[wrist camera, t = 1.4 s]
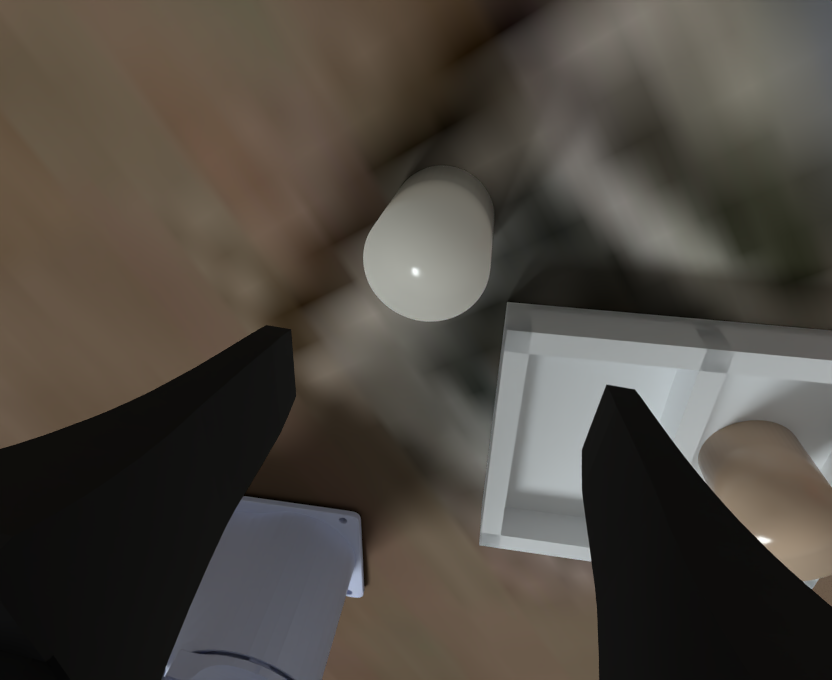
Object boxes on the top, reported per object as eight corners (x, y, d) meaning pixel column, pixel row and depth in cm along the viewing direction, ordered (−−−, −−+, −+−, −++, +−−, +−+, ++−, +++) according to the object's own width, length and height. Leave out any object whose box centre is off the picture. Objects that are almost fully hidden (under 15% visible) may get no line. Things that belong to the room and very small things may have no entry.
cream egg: (392, 262, 23) (365, 315, 18) (392, 162, 20) (361, 197, 16) (489, 269, 22) (484, 327, 18) (499, 168, 20) (496, 205, 16)
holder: (481, 507, 29) (479, 545, 27) (507, 301, 23) (506, 329, 20) (785, 549, 27) (809, 593, 25) (912, 337, 21) (958, 372, 19)
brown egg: (687, 482, 25) (722, 573, 21) (713, 414, 23) (759, 500, 19) (779, 493, 25) (834, 589, 21) (815, 426, 23) (885, 516, 18)
